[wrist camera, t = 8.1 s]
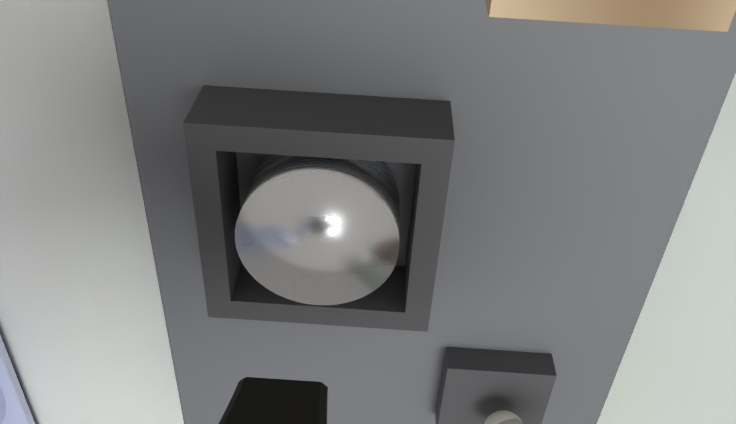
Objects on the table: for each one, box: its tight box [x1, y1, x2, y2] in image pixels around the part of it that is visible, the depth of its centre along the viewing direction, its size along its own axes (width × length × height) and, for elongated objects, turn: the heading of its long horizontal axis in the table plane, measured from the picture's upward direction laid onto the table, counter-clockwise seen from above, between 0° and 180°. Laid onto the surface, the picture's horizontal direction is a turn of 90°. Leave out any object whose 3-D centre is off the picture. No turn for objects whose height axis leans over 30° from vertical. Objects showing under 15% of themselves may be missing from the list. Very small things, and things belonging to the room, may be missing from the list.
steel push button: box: [235, 154, 400, 305], centre depth 15 cm, size 4×4×2 cm
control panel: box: [107, 0, 736, 424], centre depth 16 cm, size 13×21×3 cm, turn 177°
